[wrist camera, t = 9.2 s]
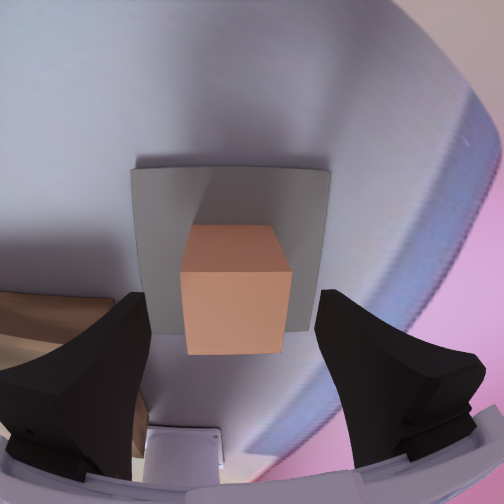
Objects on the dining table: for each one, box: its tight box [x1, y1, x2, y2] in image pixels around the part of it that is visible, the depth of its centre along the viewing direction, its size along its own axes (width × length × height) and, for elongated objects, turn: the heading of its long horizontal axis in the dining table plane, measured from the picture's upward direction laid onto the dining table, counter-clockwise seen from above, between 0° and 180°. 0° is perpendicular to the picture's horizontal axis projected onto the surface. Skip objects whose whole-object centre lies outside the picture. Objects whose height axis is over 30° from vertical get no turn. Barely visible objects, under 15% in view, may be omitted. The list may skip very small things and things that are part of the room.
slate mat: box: [130, 166, 331, 334], centre depth 16 cm, size 10×10×1 cm
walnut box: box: [0, 292, 149, 459], centre depth 16 cm, size 13×16×4 cm
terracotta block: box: [180, 225, 292, 355], centre depth 13 cm, size 4×4×5 cm
